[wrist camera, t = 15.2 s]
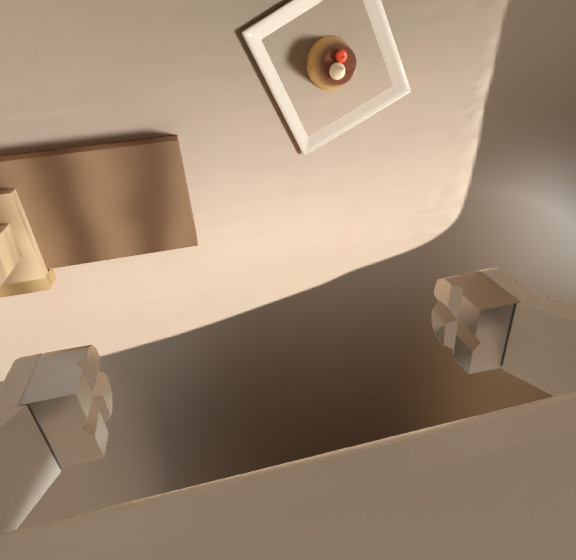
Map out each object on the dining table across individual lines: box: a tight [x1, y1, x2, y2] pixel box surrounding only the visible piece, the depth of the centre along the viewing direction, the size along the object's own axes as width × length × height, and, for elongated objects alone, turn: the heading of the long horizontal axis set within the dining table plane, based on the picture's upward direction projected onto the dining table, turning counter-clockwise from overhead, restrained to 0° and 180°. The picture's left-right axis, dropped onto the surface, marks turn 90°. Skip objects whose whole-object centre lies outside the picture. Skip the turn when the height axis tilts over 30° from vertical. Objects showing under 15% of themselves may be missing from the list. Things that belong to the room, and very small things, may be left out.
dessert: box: [242, 0, 411, 156], centre depth 38 cm, size 12×12×5 cm
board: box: [0, 135, 198, 269], centre depth 39 cm, size 22×10×2 cm, turn 94°
